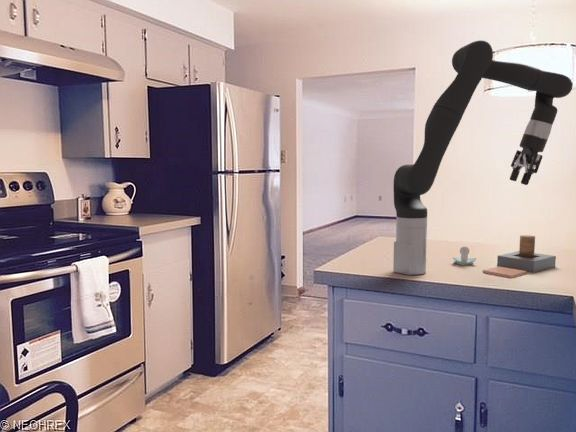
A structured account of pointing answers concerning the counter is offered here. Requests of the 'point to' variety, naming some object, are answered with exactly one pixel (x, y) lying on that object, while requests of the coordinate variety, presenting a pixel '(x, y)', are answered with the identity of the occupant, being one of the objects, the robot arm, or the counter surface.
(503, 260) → the pocket holder
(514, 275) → the terracotta tile
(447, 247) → the counter surface
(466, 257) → the pacifier
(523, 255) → the walnut peg
